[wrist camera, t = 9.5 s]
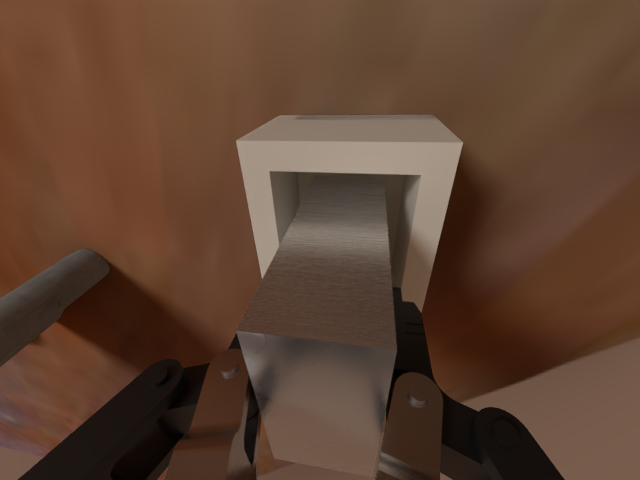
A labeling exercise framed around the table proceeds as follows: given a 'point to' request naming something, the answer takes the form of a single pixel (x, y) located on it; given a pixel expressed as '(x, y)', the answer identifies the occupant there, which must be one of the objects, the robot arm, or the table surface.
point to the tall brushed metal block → (326, 329)
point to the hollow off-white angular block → (360, 161)
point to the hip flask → (46, 299)
